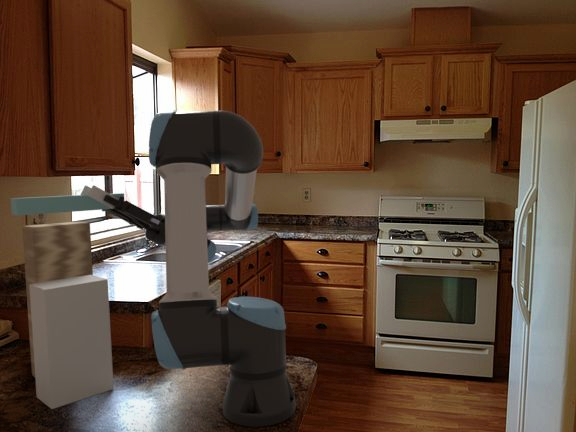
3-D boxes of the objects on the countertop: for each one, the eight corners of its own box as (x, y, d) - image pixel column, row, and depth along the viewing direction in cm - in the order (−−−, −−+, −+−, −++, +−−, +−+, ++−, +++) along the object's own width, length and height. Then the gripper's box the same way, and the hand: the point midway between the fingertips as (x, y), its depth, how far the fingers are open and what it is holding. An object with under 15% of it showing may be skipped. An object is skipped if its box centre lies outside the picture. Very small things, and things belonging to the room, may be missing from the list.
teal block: (118, 207, 125) (117, 193, 125) (124, 207, 123) (124, 193, 122) (11, 214, 108) (10, 198, 108) (17, 215, 106) (16, 198, 106)
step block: (96, 378, 126) (90, 274, 124) (113, 388, 119) (107, 279, 117) (36, 397, 116) (29, 284, 114) (51, 409, 109) (44, 289, 107)
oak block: (86, 360, 139) (78, 221, 136) (97, 366, 134) (89, 222, 131) (32, 375, 129) (22, 226, 126) (42, 382, 124) (32, 227, 121)
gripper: (178, 248, 126) (95, 206, 111) (144, 243, 138) (65, 204, 123) (189, 220, 128) (110, 175, 113) (155, 218, 140) (79, 176, 125)
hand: (87, 190), depth 118 cm, fingers closed on teal block, 3 cm apart
